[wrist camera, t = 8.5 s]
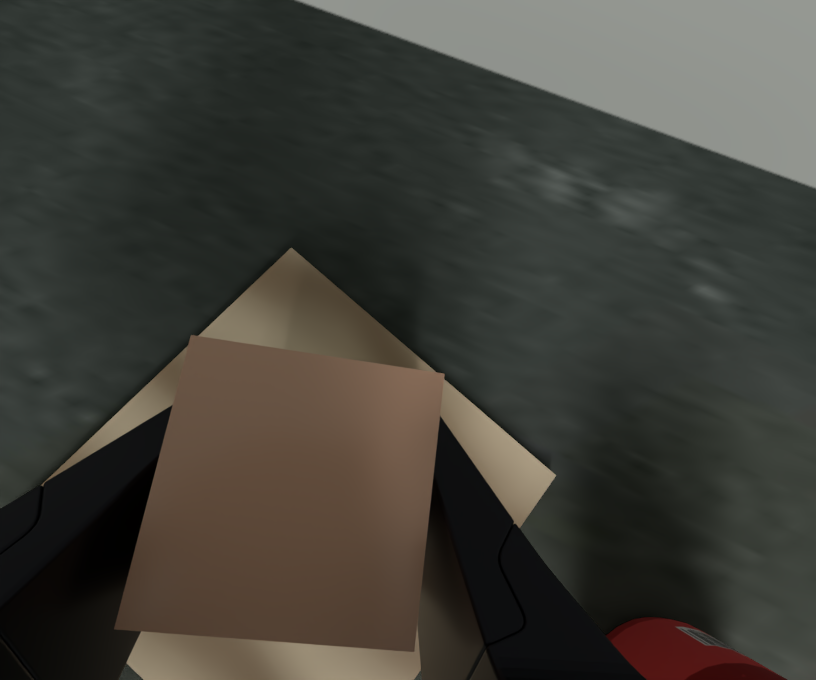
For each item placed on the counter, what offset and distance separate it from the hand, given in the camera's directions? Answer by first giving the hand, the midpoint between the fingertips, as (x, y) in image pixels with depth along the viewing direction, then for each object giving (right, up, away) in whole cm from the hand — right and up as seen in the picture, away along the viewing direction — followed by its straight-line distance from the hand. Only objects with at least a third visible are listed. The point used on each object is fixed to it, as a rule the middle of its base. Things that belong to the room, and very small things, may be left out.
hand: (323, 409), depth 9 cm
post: (-1, -3, +6) cm, 7 cm away
